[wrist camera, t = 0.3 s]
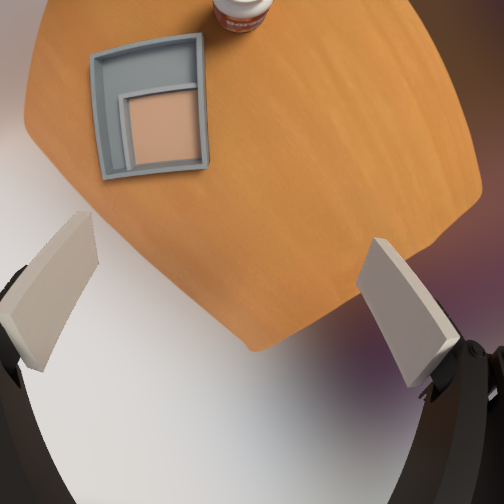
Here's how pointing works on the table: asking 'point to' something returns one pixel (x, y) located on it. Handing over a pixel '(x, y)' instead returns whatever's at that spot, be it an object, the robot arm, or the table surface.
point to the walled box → (151, 106)
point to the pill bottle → (241, 13)
